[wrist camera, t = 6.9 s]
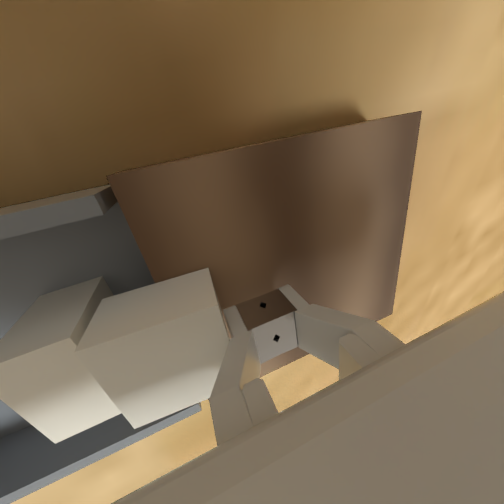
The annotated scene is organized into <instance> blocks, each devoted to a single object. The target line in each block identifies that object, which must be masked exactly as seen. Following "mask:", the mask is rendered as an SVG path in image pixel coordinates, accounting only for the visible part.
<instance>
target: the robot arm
mask: <svg viewBox="0 0 504 504" xmlns="http://www.w3.org/2000/svg"><path fill="white" fill-rule="evenodd" d="M223 312H224V315H225V319H226V322H227V325H228V328H229V332H230V335H231V339H230V341H229V343H228V346H227V349H226V352H225V355H224V358H223V361H222V364H221V367H220V370H219V372H218V375H217V378H216V381H215V384H214V387H213V390H212V393H211V396H210V399H209V402H210V408H211V413H212V419H213V424H214V430H215V435H216V441H217V447H215V448H213V449H211V450H210V451H208V452H206V453H204V454H202V455H200V456H198V457H197V458H195V459H193V460H191V461H189V462H187V463H185V464H184V465H182V466H180V467H178V468H176V469H174V470H173V471H171V472H169V473H167V474H165V475H163V476H161V477H160V478H158V479H156V480H154V481H152V482H150V483H148V484H147V485H145V486H143V487H141V488H139V489H137V490H136V491H134V492H132V493H130V494H128V495H126V496H124V497H123V498H121V499H119V500H117V501H115V502H113V503H111V504H504V291H503V292H502V293H500V294H498V295H496V296H494V297H492V298H491V299H489V300H487V301H485V302H483V303H481V304H479V305H478V306H476V307H474V308H472V309H470V310H468V311H466V312H465V313H463V314H461V315H459V316H457V317H455V318H454V319H452V320H450V321H448V322H446V323H444V324H442V325H441V326H439V327H437V328H435V329H433V330H431V331H429V332H428V333H426V334H424V335H422V336H420V337H418V338H417V339H415V340H413V341H411V342H409V343H407V344H404V343H403V342H402V341H400V340H399V339H398V338H396V337H395V336H394V335H393V334H391V333H390V332H389V331H387V330H386V329H385V328H383V327H382V326H381V325H380V324H378V323H377V322H376V321H374V320H371V319H367V318H364V317H360V316H356V315H353V314H349V313H345V312H342V311H338V310H334V309H331V308H327V307H323V306H320V305H316V304H311V305H309V304H308V303H307V302H306V301H305V300H304V299H303V298H302V297H301V296H300V295H299V294H298V293H297V292H296V291H295V290H294V289H293V288H292V287H291V286H290V285H288V284H287V285H285V286H282V287H280V288H277V289H276V290H273V291H271V292H268V293H266V294H263V295H261V296H258V297H255V298H252V299H250V300H247V301H244V302H241V303H239V304H236V305H233V306H231V307H228V308H225V309H223ZM298 346H299V348H301V349H302V350H304V351H306V352H308V353H310V354H312V355H313V356H315V357H317V358H319V359H321V360H323V361H325V362H326V363H328V364H330V365H332V366H334V367H336V368H337V369H339V381H337V382H335V383H333V384H332V385H330V386H328V387H326V388H324V389H322V390H320V391H319V392H317V393H315V394H313V395H311V396H309V397H308V398H306V399H304V400H302V401H300V402H298V403H296V404H295V405H293V406H291V407H289V408H287V409H285V410H284V411H282V412H280V413H278V411H277V409H276V407H275V404H274V402H273V400H272V398H271V396H270V394H269V391H268V389H267V387H266V385H265V383H264V381H263V380H262V379H260V370H261V364H262V363H264V362H266V361H268V360H270V359H272V358H274V357H276V356H278V355H280V354H282V353H285V352H287V351H289V350H292V349H294V348H296V347H298Z"/></svg>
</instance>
